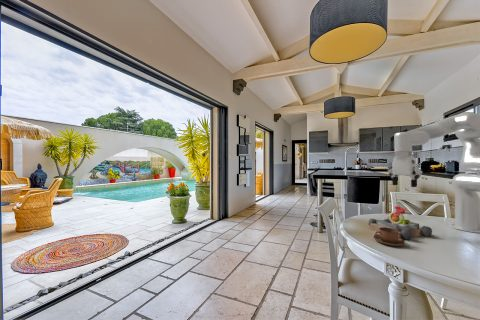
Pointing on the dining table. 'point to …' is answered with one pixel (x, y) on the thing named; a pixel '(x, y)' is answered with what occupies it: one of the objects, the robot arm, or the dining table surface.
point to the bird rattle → (395, 218)
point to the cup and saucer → (388, 237)
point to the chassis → (401, 228)
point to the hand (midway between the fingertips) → (404, 185)
